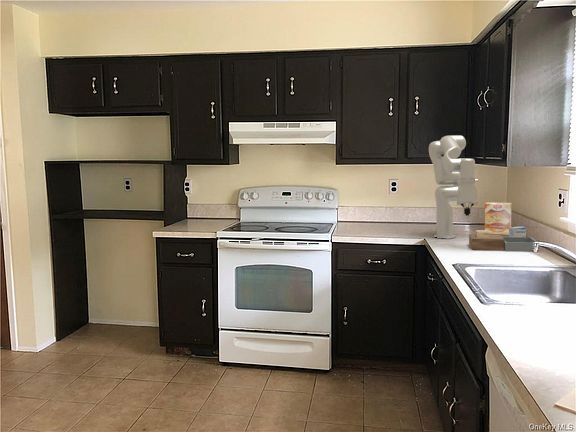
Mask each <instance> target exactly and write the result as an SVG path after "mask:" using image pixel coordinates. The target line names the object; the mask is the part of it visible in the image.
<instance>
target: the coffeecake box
mask: <svg viewBox="0 0 576 432" xmlns="http://www.w3.org/2000/svg"><path fill="white" fill-rule="evenodd" d="M512 204H513V203H512V202H485V204H484V230H488V231H489V234H498V235H505V236H506V235H507V236H509V227H512Z"/></svg>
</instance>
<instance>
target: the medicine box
mask: <svg viewBox="0 0 576 432" xmlns="http://www.w3.org/2000/svg"><path fill="white" fill-rule="evenodd" d="M508 237H527V227H526V226H511V227H509V235H508Z"/></svg>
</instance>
